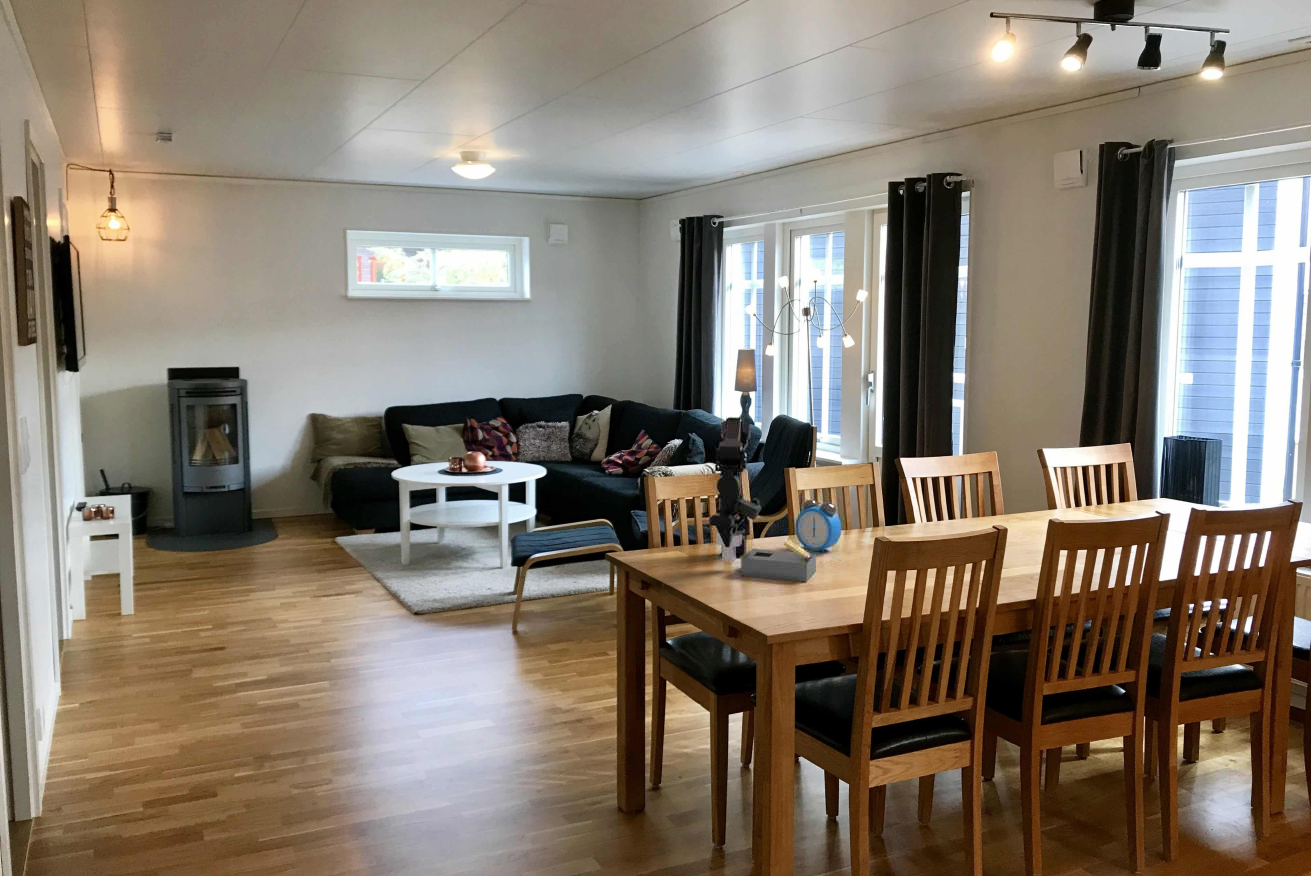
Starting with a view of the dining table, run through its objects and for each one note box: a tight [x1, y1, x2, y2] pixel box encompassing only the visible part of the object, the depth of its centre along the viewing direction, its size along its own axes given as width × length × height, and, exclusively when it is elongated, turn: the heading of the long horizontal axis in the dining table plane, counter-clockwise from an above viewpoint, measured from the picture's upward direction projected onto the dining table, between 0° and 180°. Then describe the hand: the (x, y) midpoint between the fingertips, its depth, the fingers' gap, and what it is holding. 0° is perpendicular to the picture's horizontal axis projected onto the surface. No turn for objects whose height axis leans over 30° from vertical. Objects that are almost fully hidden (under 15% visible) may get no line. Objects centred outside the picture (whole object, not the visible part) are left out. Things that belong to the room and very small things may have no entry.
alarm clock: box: [794, 499, 842, 554], centre depth 312 cm, size 13×6×15 cm, turn 48°
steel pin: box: [716, 532, 742, 563], centre depth 287 cm, size 6×3×8 cm, turn 70°
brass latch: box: [783, 539, 812, 560], centre depth 281 cm, size 8×4×1 cm
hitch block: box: [740, 548, 817, 583], centre depth 283 cm, size 18×12×5 cm, turn 70°
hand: (729, 545), depth 286 cm, fingers closed on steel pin, 3 cm apart
